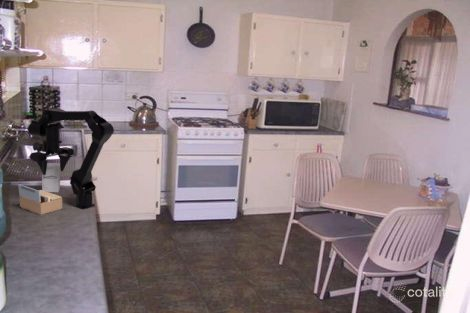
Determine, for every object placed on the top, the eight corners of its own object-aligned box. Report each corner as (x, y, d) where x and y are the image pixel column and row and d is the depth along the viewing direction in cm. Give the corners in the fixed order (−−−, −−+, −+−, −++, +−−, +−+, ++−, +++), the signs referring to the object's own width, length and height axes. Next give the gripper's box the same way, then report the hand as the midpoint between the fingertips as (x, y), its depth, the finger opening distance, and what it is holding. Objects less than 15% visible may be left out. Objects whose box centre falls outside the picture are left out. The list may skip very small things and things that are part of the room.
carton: (62, 209, 185) (62, 194, 183) (40, 215, 176) (40, 199, 175) (41, 201, 192) (41, 187, 190) (19, 207, 183) (19, 192, 182)
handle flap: (39, 191, 174) (38, 191, 173) (40, 202, 175) (39, 202, 175) (19, 184, 181) (17, 184, 180) (20, 194, 182) (18, 195, 182)
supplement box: (41, 192, 204) (41, 166, 201) (44, 188, 211) (43, 162, 208) (58, 192, 206) (58, 166, 203) (60, 187, 213) (60, 162, 210)
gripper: (57, 132, 201) (57, 166, 204) (20, 137, 184) (21, 173, 188) (74, 136, 195) (75, 170, 199) (38, 141, 179) (39, 178, 183)
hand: (53, 173), depth 192 cm, fingers open, 9 cm apart
